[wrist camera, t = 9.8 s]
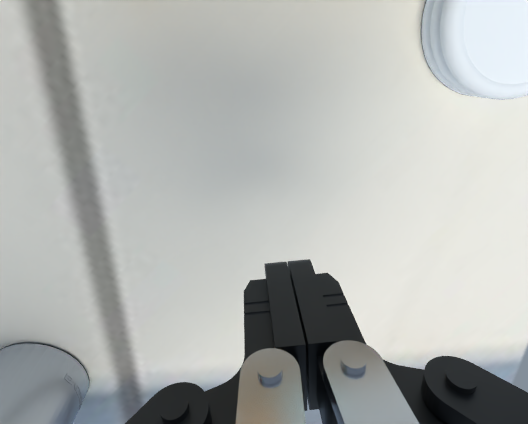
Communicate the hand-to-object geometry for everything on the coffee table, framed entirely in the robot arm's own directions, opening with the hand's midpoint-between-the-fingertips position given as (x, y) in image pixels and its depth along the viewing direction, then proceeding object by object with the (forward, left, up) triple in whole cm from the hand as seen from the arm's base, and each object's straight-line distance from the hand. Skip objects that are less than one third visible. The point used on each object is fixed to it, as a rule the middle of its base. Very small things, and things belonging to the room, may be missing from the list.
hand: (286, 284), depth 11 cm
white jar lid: (+16, +8, -16) cm, 24 cm away
